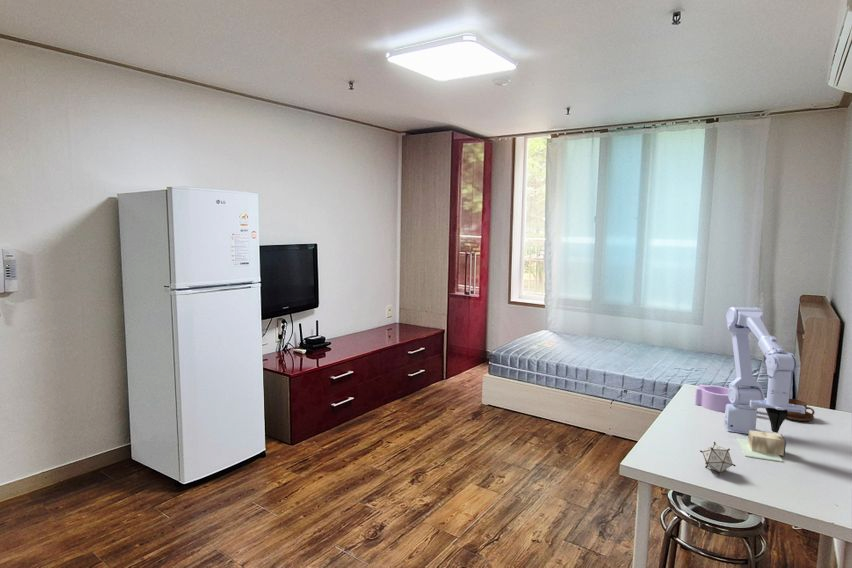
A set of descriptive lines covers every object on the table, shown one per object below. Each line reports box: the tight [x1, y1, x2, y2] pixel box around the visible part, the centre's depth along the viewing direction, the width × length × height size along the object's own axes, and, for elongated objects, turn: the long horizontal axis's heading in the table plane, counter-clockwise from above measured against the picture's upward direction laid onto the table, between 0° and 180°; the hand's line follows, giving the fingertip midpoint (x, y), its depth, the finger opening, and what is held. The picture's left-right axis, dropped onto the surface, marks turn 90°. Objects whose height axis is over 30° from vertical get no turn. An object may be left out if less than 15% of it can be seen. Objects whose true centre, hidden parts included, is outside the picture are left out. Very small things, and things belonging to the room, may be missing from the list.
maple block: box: [747, 430, 787, 457], centre depth 161 cm, size 5×5×9 cm
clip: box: [694, 383, 732, 413], centre depth 200 cm, size 20×12×7 cm, turn 51°
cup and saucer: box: [786, 398, 816, 422], centre depth 190 cm, size 12×12×6 cm
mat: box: [735, 437, 784, 463], centre depth 162 cm, size 10×14×1 cm
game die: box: [699, 441, 737, 476], centre depth 148 cm, size 9×8×10 cm
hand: (774, 431), depth 160 cm, fingers closed
